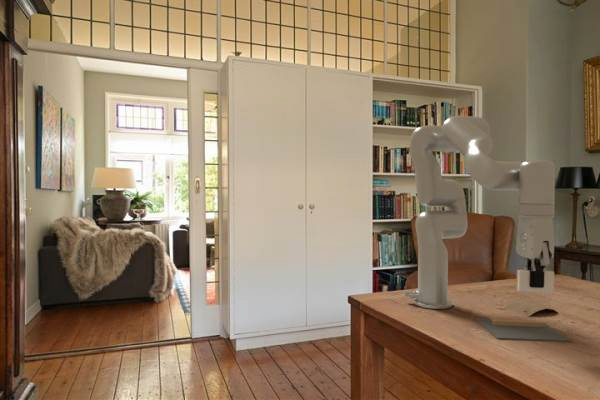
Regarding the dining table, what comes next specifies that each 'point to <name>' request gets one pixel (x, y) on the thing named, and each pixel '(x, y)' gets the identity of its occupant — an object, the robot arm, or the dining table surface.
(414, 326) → the dining table surface
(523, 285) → the tile
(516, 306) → the clay tablet
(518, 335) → the mat
